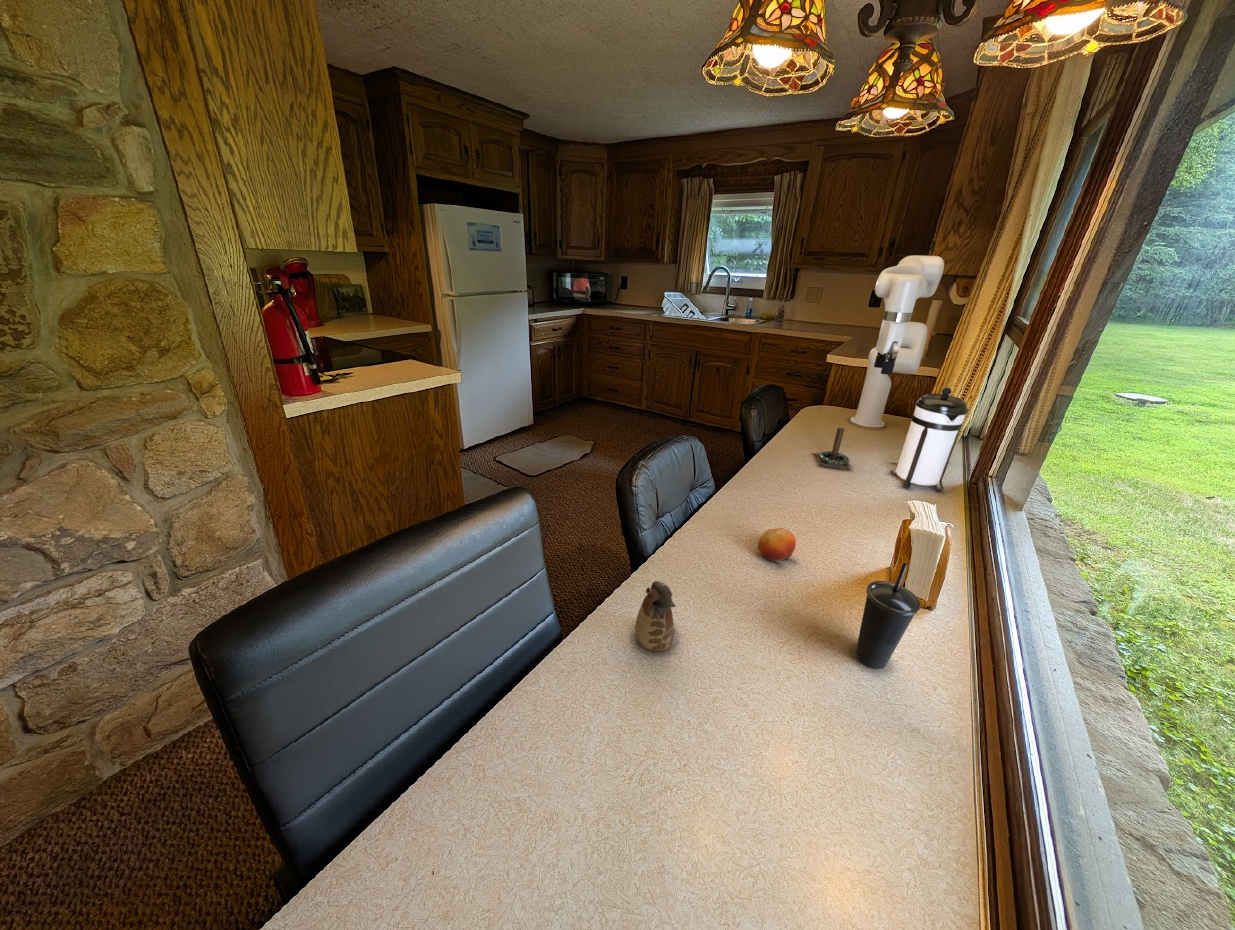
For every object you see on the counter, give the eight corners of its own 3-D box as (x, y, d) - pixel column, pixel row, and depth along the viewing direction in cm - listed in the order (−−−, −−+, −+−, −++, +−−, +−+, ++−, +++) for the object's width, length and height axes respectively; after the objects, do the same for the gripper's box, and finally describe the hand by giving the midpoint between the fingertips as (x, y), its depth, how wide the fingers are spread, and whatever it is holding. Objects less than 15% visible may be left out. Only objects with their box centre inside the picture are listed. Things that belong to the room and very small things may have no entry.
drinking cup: (901, 658, 80) (939, 565, 71) (886, 684, 75) (925, 587, 66) (856, 634, 84) (886, 543, 76) (839, 656, 80) (870, 563, 71)
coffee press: (955, 485, 141) (991, 390, 128) (928, 498, 133) (964, 398, 120) (898, 464, 154) (926, 376, 141) (871, 474, 146) (898, 382, 133)
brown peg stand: (816, 455, 159) (824, 422, 153) (844, 459, 157) (853, 425, 151) (819, 466, 151) (828, 431, 145) (849, 470, 149) (858, 435, 143)
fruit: (785, 569, 99) (775, 533, 99) (757, 568, 105) (748, 534, 106) (808, 557, 103) (799, 523, 103) (780, 557, 110) (771, 524, 110)
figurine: (682, 642, 81) (688, 589, 76) (648, 658, 78) (653, 603, 73) (659, 617, 87) (664, 565, 82) (627, 630, 84) (630, 577, 79)
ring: (816, 453, 158) (817, 448, 157) (845, 456, 155) (846, 452, 155) (820, 464, 150) (821, 459, 149) (850, 468, 147) (851, 463, 147)
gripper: (877, 313, 155) (864, 364, 162) (891, 320, 140) (876, 375, 147) (902, 315, 153) (887, 366, 160) (918, 322, 138) (902, 378, 145)
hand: (882, 370), depth 154 cm, fingers open, 9 cm apart
